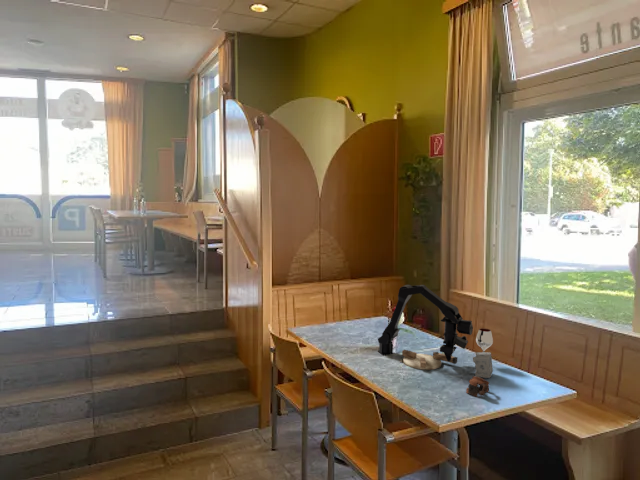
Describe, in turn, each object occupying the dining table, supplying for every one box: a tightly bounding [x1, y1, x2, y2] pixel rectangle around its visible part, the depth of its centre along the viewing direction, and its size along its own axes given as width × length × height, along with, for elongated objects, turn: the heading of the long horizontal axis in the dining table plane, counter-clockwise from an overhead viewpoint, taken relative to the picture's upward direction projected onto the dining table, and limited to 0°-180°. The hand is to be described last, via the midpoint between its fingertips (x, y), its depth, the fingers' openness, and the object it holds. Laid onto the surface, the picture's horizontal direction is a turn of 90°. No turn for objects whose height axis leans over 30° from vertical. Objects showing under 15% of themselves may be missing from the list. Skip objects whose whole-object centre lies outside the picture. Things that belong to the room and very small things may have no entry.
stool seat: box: [401, 349, 442, 371], centre depth 244 cm, size 19×20×4 cm
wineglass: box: [475, 327, 494, 352], centre depth 243 cm, size 8×8×18 cm
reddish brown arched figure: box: [465, 375, 490, 398], centre depth 207 cm, size 12×10×8 cm
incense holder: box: [472, 351, 494, 379], centre depth 228 cm, size 10×8×10 cm
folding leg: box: [432, 351, 458, 365], centre depth 243 cm, size 12×3×3 cm, turn 50°
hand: (448, 361), depth 239 cm, fingers closed
